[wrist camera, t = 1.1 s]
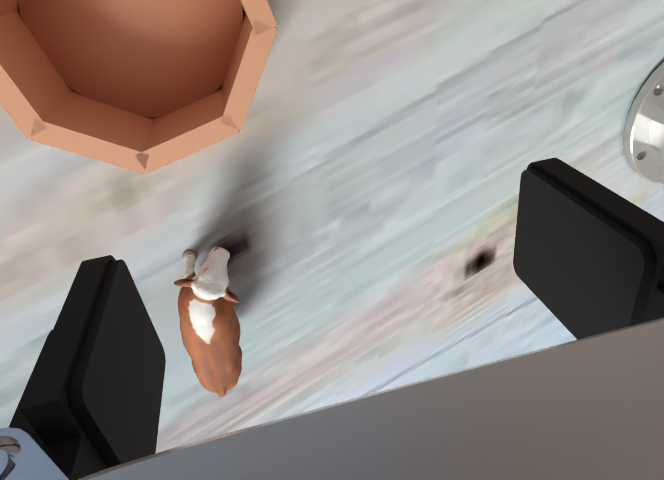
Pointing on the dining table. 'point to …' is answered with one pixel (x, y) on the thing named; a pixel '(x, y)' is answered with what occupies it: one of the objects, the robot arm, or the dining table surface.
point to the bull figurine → (210, 322)
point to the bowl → (132, 74)
